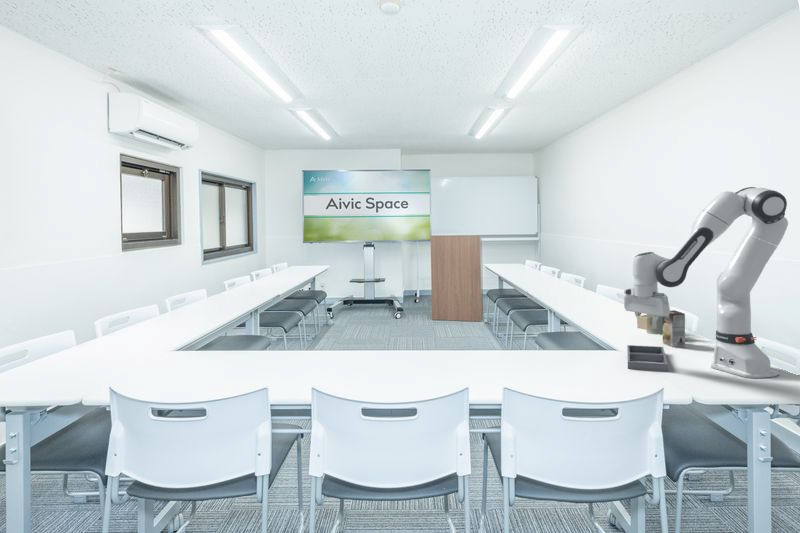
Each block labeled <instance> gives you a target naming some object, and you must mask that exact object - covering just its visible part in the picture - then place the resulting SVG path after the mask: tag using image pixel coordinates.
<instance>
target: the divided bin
mask: <svg viewBox="0 0 800 533" xmlns="http://www.w3.org/2000/svg"><path fill="white" fill-rule="evenodd" d="M626 348H627V350H626V351H627V370H629V369H630V370H641V371H644V370H645V371H654V372H655V371H656V372H669V363H668V360H667V354H666V352H665V349H664V346H654V345H653V346H652V345H635V344H634V345H633V344H632V345H631V344H630V345H629V344H627V346H626Z"/></svg>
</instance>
